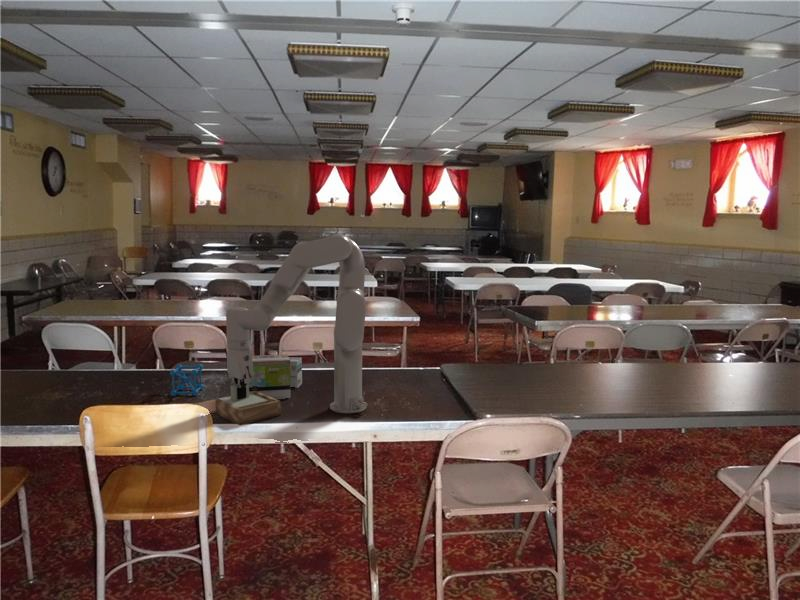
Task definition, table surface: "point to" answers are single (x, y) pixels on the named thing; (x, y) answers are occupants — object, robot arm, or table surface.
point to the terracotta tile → (209, 405)
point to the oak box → (249, 410)
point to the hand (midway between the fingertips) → (240, 397)
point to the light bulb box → (295, 372)
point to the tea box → (271, 376)
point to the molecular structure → (186, 380)
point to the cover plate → (245, 402)
